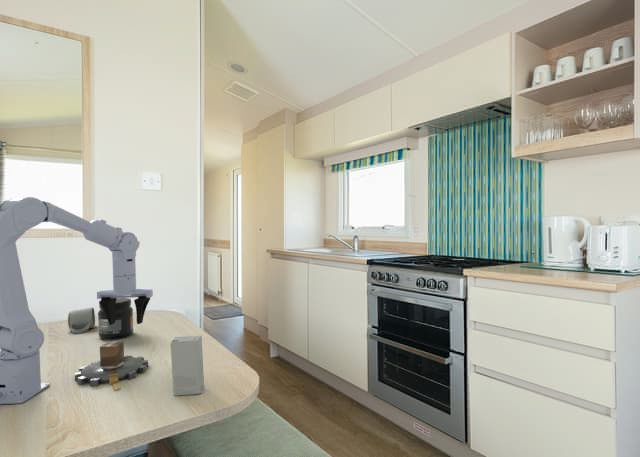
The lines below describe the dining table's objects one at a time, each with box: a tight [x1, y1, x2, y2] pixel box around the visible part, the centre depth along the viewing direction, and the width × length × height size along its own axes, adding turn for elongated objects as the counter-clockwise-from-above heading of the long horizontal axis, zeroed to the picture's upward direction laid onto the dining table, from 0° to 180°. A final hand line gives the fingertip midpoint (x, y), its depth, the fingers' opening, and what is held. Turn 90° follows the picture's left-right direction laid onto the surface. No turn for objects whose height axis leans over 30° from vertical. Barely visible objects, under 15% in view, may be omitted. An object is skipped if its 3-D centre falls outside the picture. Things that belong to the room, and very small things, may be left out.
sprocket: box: [74, 355, 149, 387], centre depth 100 cm, size 16×16×4 cm
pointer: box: [112, 382, 121, 392], centre depth 91 cm, size 4×1×1 cm, turn 32°
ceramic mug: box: [67, 306, 96, 334], centre depth 141 cm, size 10×8×7 cm
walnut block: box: [99, 340, 125, 367], centre depth 100 cm, size 4×4×5 cm
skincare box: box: [170, 335, 205, 397], centre depth 88 cm, size 6×4×12 cm
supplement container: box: [97, 298, 134, 341], centre depth 133 cm, size 10×10×12 cm
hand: (126, 323), depth 110 cm, fingers open, 7 cm apart
